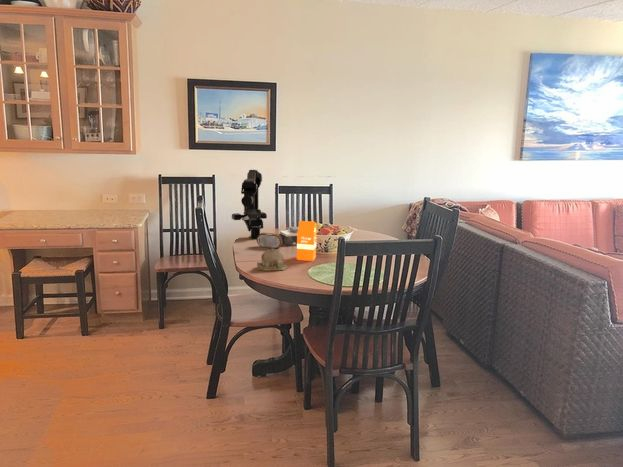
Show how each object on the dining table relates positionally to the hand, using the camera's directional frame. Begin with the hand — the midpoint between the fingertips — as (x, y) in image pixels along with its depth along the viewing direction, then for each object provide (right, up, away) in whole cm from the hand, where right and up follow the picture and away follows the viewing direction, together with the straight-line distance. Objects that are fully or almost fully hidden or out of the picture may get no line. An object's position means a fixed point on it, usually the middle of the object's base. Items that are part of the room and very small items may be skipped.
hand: (249, 231), depth 260 cm
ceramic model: (+15, -19, -32) cm, 40 cm away
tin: (+11, -10, +6) cm, 16 cm away
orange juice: (+32, -15, -14) cm, 38 cm away
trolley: (+22, -7, +18) cm, 30 cm away
